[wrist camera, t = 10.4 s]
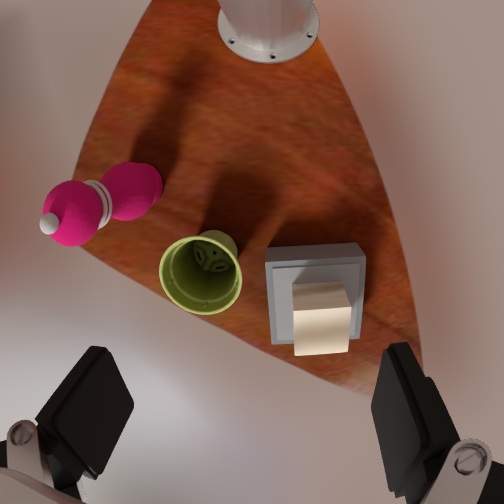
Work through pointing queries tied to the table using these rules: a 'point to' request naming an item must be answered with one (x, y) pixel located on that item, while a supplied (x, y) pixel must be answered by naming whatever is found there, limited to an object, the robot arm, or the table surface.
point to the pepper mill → (99, 202)
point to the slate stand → (312, 281)
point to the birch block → (320, 318)
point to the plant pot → (202, 272)
